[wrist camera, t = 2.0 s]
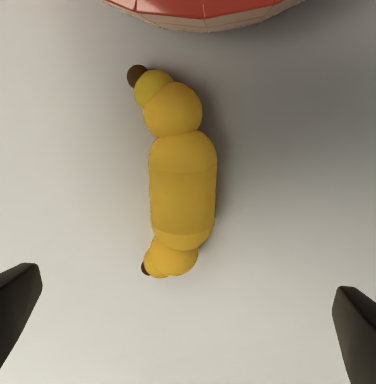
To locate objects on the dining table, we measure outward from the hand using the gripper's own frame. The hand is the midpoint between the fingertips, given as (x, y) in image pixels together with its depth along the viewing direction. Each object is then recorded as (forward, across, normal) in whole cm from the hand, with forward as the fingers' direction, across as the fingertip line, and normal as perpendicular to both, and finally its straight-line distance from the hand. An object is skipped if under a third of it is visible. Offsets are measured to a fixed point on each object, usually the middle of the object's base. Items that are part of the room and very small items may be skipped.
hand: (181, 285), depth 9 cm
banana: (+9, 0, 0) cm, 9 cm away
